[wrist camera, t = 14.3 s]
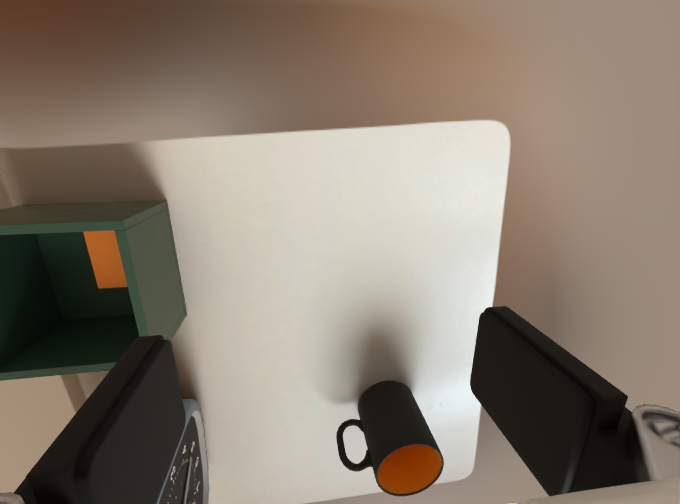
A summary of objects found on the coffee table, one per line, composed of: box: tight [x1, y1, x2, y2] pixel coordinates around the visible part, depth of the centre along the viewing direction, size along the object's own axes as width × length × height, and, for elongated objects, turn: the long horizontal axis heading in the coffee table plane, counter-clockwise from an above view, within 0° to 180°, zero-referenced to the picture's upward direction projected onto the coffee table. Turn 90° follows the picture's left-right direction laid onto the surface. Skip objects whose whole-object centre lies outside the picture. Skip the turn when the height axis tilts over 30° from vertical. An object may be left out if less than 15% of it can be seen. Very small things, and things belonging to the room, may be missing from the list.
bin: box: [0, 201, 187, 381], centre depth 31 cm, size 14×14×10 cm
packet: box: [83, 230, 128, 289], centre depth 33 cm, size 4×6×4 cm
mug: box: [337, 381, 444, 496], centre depth 42 cm, size 8×12×10 cm
